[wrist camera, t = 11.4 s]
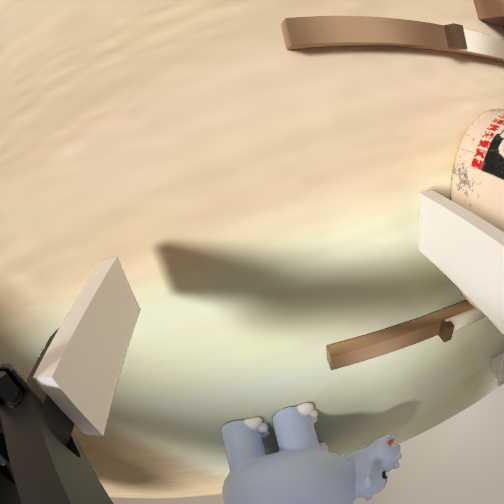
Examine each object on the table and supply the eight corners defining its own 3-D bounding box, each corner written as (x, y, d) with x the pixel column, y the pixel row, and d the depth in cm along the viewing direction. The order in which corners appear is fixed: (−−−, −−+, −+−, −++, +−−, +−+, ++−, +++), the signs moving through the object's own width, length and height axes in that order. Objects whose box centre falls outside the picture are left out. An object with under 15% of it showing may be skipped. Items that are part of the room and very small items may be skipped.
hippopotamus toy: (380, 433, 25) (410, 511, 16) (236, 473, 26) (243, 553, 17) (381, 373, 20) (432, 481, 11) (188, 426, 21) (187, 538, 12)
